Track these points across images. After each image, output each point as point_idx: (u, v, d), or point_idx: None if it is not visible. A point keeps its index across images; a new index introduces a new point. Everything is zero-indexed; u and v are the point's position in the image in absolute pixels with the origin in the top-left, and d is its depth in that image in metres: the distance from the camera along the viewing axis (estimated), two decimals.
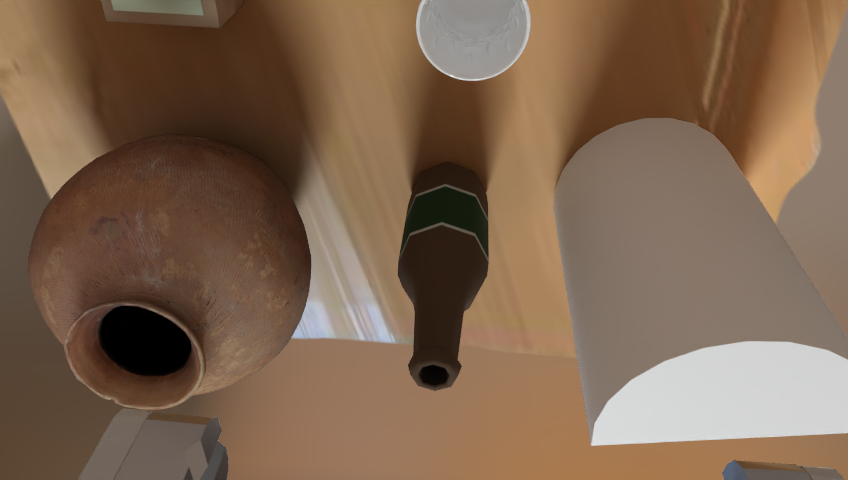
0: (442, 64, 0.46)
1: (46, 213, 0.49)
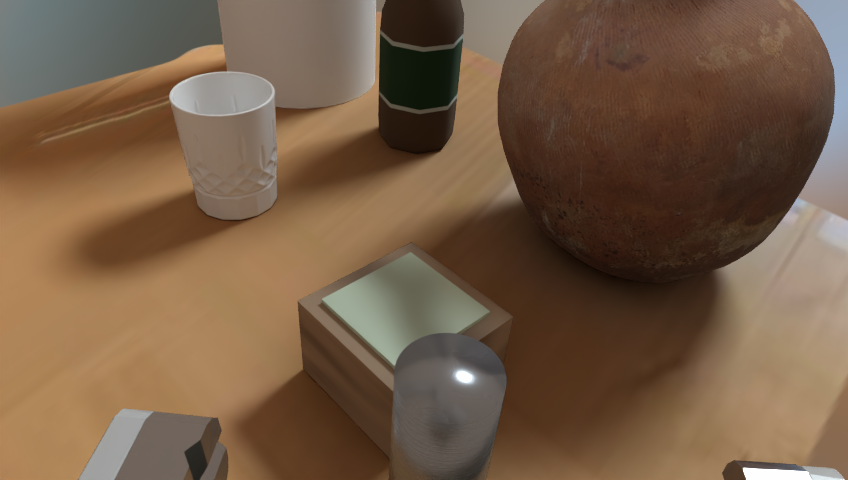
0: None
1: (712, 129, 0.36)
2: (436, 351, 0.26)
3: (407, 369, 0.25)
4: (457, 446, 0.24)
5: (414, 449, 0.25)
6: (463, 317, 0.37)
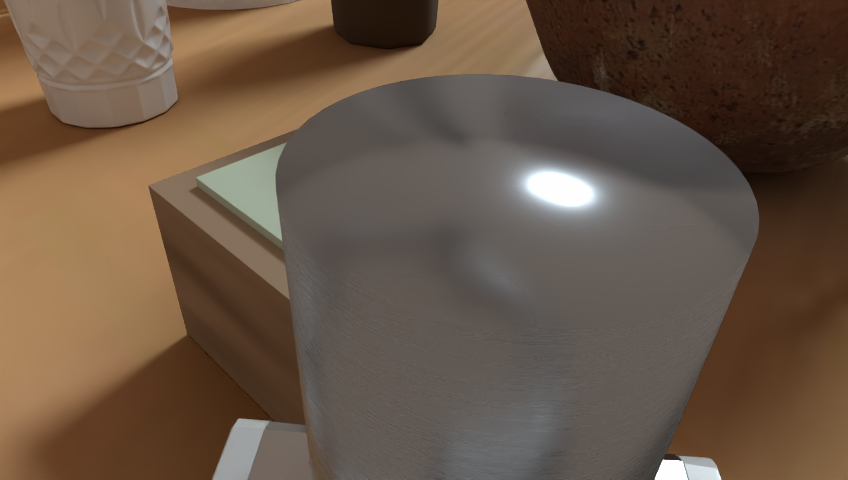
0: None
1: None
2: (446, 111, 0.07)
3: (334, 155, 0.06)
4: (570, 462, 0.05)
5: None
6: None
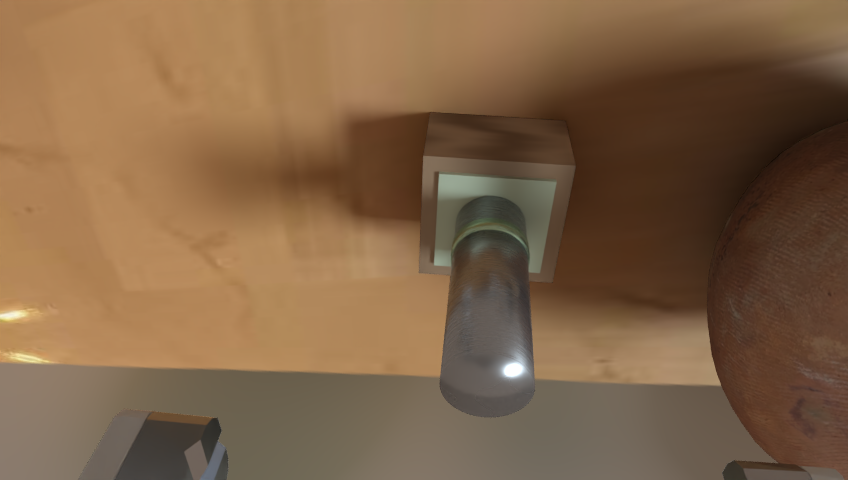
0: None
1: (766, 452, 0.36)
2: (496, 370, 0.29)
3: (463, 366, 0.29)
4: None
5: None
6: None
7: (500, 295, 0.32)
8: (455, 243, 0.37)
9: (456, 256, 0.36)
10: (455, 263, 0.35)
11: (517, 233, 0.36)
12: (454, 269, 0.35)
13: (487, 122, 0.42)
